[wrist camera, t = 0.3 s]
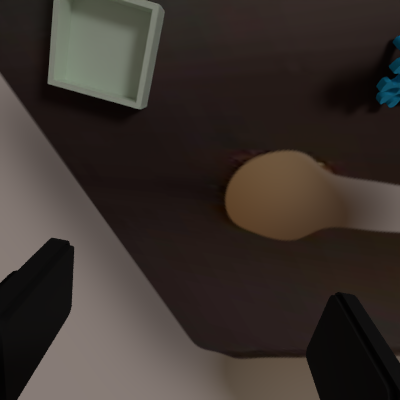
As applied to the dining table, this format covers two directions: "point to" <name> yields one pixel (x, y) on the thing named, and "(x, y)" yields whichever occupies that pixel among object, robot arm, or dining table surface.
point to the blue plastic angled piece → (390, 83)
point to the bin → (105, 48)
